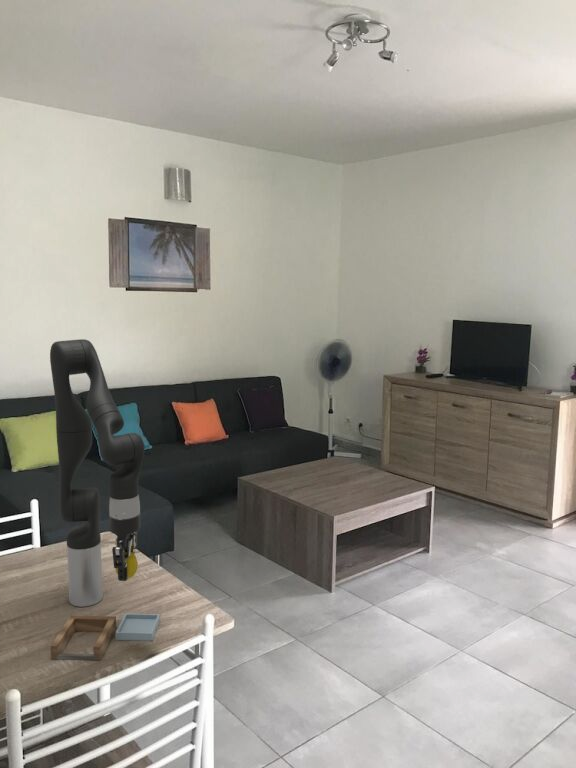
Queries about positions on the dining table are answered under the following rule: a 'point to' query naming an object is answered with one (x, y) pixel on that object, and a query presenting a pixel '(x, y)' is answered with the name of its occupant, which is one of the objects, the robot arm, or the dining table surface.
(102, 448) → the robot arm
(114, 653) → the dining table surface
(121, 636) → the dish
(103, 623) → the wooden letter tray
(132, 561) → the lemon
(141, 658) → the dining table surface
